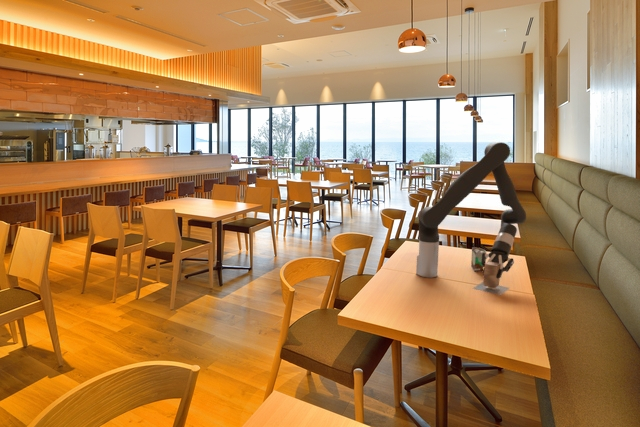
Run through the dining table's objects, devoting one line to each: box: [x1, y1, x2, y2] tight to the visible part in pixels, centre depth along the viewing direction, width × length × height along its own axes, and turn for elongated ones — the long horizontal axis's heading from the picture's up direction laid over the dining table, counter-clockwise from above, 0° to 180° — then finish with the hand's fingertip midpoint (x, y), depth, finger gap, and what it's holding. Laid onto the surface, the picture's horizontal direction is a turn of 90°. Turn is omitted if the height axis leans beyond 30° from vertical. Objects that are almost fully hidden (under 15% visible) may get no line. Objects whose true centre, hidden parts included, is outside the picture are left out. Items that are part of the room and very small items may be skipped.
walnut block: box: [482, 261, 500, 288], centre depth 180 cm, size 5×5×10 cm
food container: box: [470, 246, 487, 273], centre depth 208 cm, size 12×6×10 cm, turn 168°
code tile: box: [472, 281, 510, 296], centre depth 181 cm, size 12×12×1 cm
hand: (491, 276), depth 180 cm, fingers closed on walnut block, 5 cm apart
